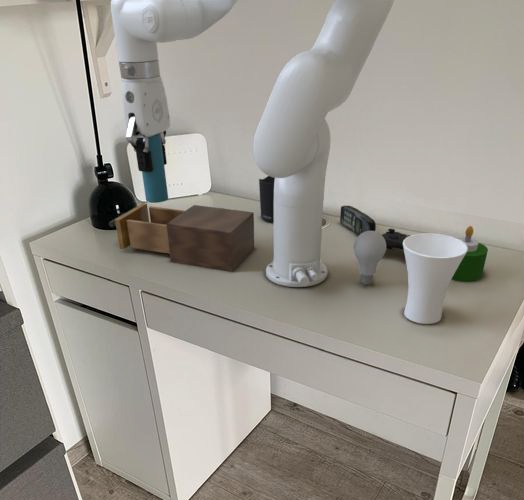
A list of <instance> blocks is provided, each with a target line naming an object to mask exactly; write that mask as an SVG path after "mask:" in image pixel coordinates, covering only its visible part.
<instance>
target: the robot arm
mask: <svg viewBox="0 0 524 500" xmlns="http://www.w3.org/2000/svg"><path fill="white" fill-rule="evenodd" d="M238 2H239V0H111V1H110V5H109V7H110V12H111V20H112V27H113V33H114V39H115V46H116V52H117V60H118V65H119V72H120V79H121V94H122V95H121V96H122V97H121V98H122V109H123V117H124V123H125V130H126V134H125V141H127V142H128V143H129V144H130V145H131V146H132V148H133V151H134V152H135V156H136V162H137V170H138V171H139V172H142V171H144V172H152V171H153V165H152V158H151V151H148V145H149V137H151V136H154V135H156V134H159V133H160V135H161V143H162V151H163V159H164V166H165V165H167V164H168V163H167V162H168V161H167V154H166V142H167V141H166V134H167V131H168V130H169V128H170V126H171V119H170V118H171V117H170V112H169V111H170V110H169V105H168V99H167V94H166V89H165V86H164V81H163V79H162V76H161V69H160V61H159V52H158V44H157V43H159V44H160V43H162V44H163V43H164V44H165V43H170V42H171V43H172V42H176V41H184V40H190V39H194V38H196V37H198V36H200V35H201V34H202V33H204V32H205V31H207V30H209V29H210V28H211V27H212V26H213V25H215V24H217V23H218V22H219V21H220V20H222V19H223V18H224V17H226V15H227V14H228V13H230V11H231V10H232V9H233V7H234V6H235V5H236V4H237V3H238ZM394 2H395V0H334V1H333V3H332V4H331V7H330V8H329V11H328V12H327V15H326V18H325V21H324V23H323V25H322V28H321V30H320V32H319V34H318V35H317V38H316V40H315V42H314V44H313V46H312V47H311V48H310V49H309V50H305V51H302V52H300V53H297V54H296V55H294V56H293V57H292V58H291V59H289V60H288V62H287V63H286V64H285V65H284V66H283V68H282V70H281V72H280V73H279V75H278V77H277V78H276V81H275V83H274V86H273V88H272V91H271V93H270V95H269V98H268V100H267V103H266V105H265V108H264V110H263V113H262V115H261V118H260V120H259V122H258V125H257V128H256V131H255V133H254V137H253V142H252V143H253V144H252V153H253V158H254V162H255V163H256V165H257V167H258V168H259V169H260V171H261V172H262V173H263V174H265V175H266V176H270V177H274V178H275V181H274V223H273V261H271V262H270V263H269V264H267V266H266V267H265V275H266V278H267V279H268V280H270V281H271V282H272V283H274V284H276V285H279V286H284V287H290V288H306V287H312V286H315V285H318V284H320V283H321V282H324V281H325V280H326V278H327V277H328V267H327V265H325V264H324V263H323V262H322V261H321V254H322V238H323V237H322V236H323V217H324V201H325V185H326V176H327V175H326V174H327V168H328V162H329V156H330V150H331V139H332V138H331V129H330V126H329V123H328V121H327V120H326V117H327V115H328V114H329V112H332V111H334V110H335V109H337V108H339V107H340V106H342V105H343V104H344V103H345V102H346V101H347V100H348V98H349V97H350V95H351V93H352V91H353V89H354V87H355V84H356V82H357V80H358V78H359V76H360V74H361V71H362V70H363V68H364V66H365V63H366V62H367V60H368V58H369V56H370V54H371V51H372V49H373V47H374V45H375V42H376V41H377V39H378V36H379V34H380V32H381V30H382V29H383V26H384V24H385V22H386V20H387V18H388V16H389V14H390V12H391V10H392V7H393V4H394ZM140 133H141V134H142V135H138V134H140ZM139 138H142V139H143V143H142V142H141V141H140V140H139Z"/></svg>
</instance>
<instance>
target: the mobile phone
mask: <svg viewBox="0 0 524 500" xmlns="http://www.w3.org/2000/svg"><path fill="white" fill-rule="evenodd" d="M339 223H340V224H341V225H343V226H344V227H346V228H347V229H348V230H350V231H352V232H353V233H354V234H355V235H357V237H358V236H359V235H360V234H361V233H363V232H366V231H375V232H376V228H377V225H376V224H377V223H376V221H375V220H374V218H372V217H371V216H370V215H368V214H367V213H364V212H362V211H361V210H359V209H358V208H356V207H354V206H351V205H342V206H340V216H339Z"/></svg>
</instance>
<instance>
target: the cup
mask: <svg viewBox="0 0 524 500" xmlns="http://www.w3.org/2000/svg"><path fill="white" fill-rule="evenodd" d="M410 235H411V236H409V237H407V238H405V239H404V240H403V248H404V250H403V253H404V258H405V264H406V270H407V277H408V278H407V281H408V283H407V284H408V289H407V300H406V304H405V307H404V311H403V314H404V317H406V319H408V320H409V321H411V322H413V323H417V324H423V325H430V324H431V325H432V324H436V323H439V321H440V320H442V315H443V314H442V313H443V303H444V301H445V297H446V293H447V291H448V288H449V286H450V283H451V281H452V280H453V279H452V277H453V275H454V273H455V272H456V270H457V268H458V266H459V264H460V263H461V261H462V259H463V258H464V256H465V254H466V253H467V251H468V247H467V245H466V244H465V243H464V242H463V241H461V240H459V239H458V237H455V236H451V235H448V234H442V233H434V232H423V233H414V234H410Z"/></svg>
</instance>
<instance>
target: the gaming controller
mask: <svg viewBox="0 0 524 500" xmlns="http://www.w3.org/2000/svg"><path fill="white" fill-rule="evenodd" d="M381 235H382V236H383V237H384V239H385V241H386V250H393V249H396V250H400V251H404V248H403V240H404V239H405V238H407V237H409V236H411V235H412V234H405V233H402V232H400V231H396V229H395V228H388V229H387V231H386V232H385V233H383V234H381Z"/></svg>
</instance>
